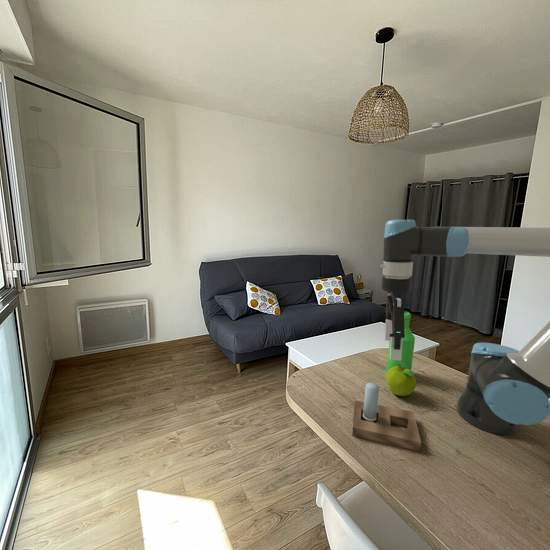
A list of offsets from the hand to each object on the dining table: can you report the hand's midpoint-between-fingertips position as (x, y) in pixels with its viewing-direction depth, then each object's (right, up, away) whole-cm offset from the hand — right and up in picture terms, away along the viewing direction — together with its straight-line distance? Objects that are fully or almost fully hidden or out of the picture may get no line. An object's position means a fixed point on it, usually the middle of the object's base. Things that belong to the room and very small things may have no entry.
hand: (392, 349), depth 84 cm
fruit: (+9, -20, +17) cm, 28 cm away
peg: (-6, -22, +1) cm, 23 cm away
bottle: (+14, -17, +30) cm, 37 cm away
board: (-3, -22, 0) cm, 22 cm away
